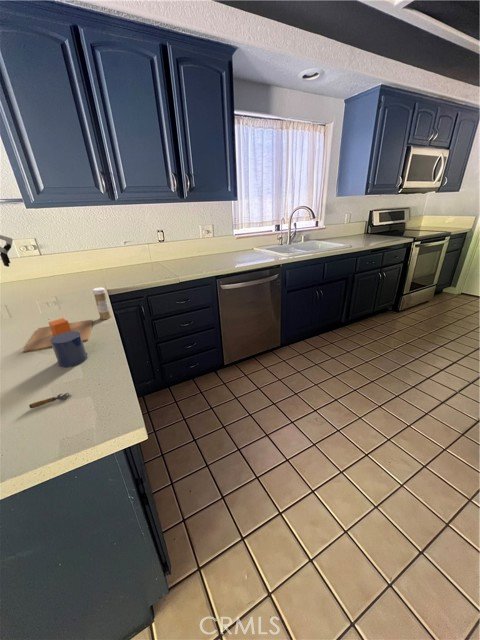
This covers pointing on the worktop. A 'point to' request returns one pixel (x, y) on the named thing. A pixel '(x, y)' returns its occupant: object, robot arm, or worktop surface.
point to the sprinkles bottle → (101, 303)
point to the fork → (49, 400)
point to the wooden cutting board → (45, 334)
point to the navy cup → (69, 349)
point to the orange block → (59, 326)
